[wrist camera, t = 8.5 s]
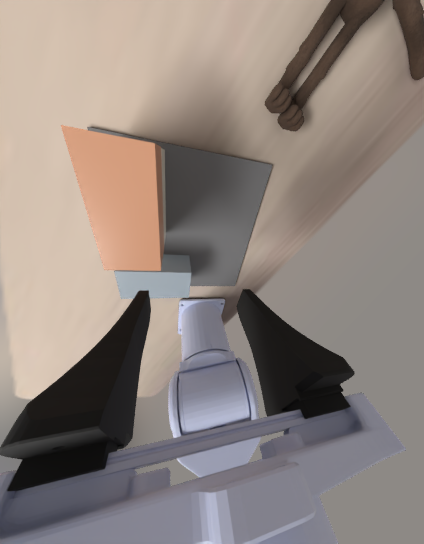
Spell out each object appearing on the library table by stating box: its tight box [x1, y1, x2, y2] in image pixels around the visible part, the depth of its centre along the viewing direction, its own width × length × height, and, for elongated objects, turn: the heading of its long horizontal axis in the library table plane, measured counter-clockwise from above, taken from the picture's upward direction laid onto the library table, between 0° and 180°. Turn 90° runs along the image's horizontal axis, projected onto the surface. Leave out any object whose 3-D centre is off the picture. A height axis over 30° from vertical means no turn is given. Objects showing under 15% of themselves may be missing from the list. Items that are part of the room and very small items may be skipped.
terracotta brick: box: [61, 125, 164, 271], centre depth 11 cm, size 8×4×4 cm, turn 171°
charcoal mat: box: [87, 127, 272, 286], centre depth 20 cm, size 17×17×1 cm
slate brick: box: [114, 254, 191, 299], centre depth 20 cm, size 8×4×4 cm, turn 81°
